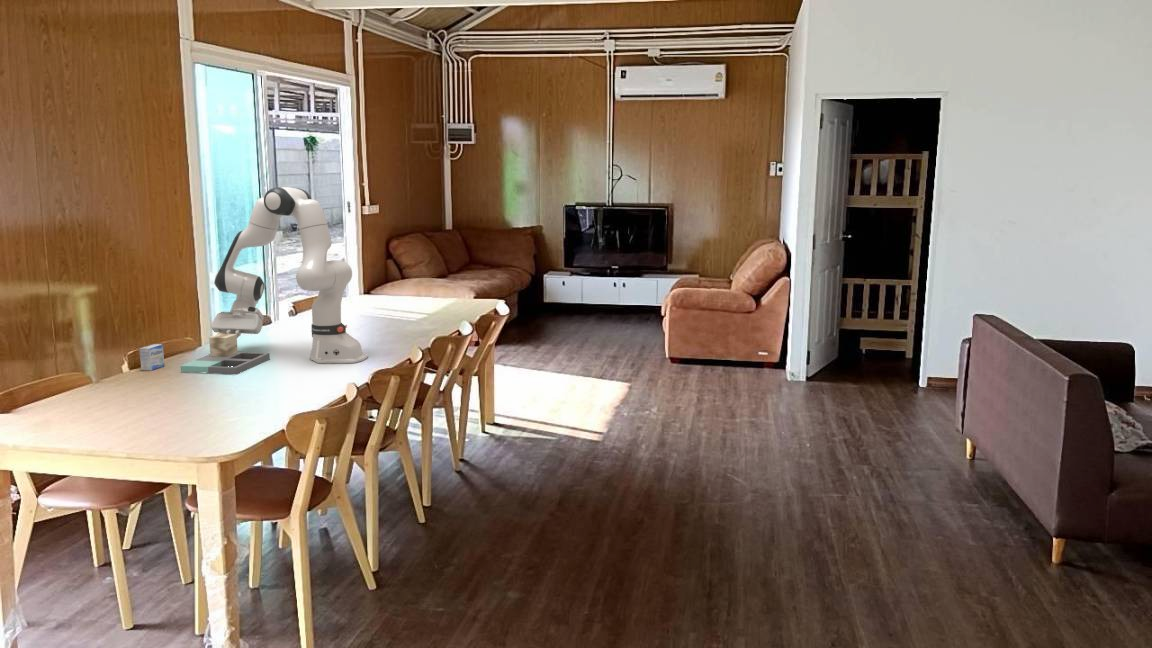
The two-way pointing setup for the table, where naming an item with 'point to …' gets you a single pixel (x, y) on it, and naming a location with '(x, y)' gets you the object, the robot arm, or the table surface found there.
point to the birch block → (223, 345)
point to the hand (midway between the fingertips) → (230, 340)
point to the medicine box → (152, 357)
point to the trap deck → (226, 363)
